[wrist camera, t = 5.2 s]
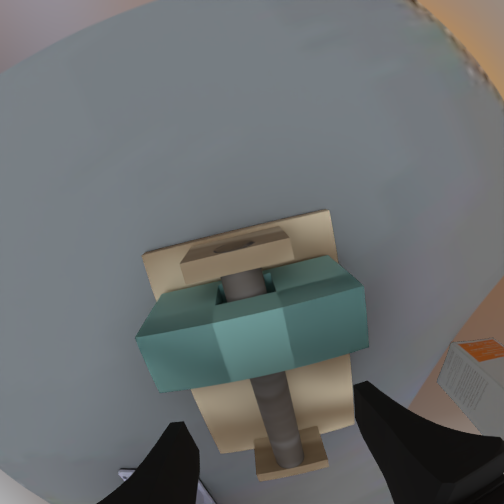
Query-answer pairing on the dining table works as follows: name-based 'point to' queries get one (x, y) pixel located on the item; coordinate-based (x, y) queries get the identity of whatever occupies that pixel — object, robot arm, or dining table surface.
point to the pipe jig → (273, 385)
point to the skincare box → (477, 382)
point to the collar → (254, 327)
